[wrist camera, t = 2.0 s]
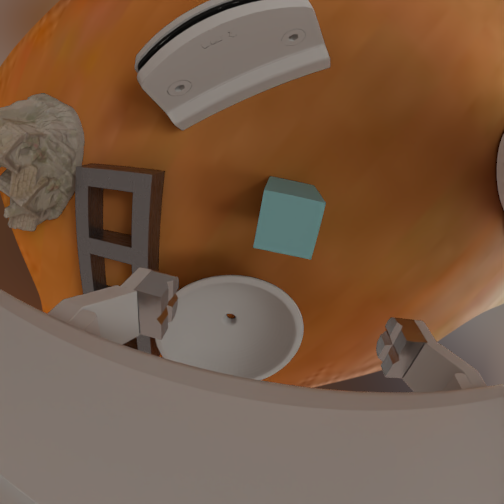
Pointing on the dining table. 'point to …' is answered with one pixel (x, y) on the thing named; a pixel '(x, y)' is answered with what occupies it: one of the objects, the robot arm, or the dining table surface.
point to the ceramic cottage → (38, 158)
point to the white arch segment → (229, 55)
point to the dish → (233, 327)
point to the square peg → (289, 218)
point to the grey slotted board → (112, 243)
